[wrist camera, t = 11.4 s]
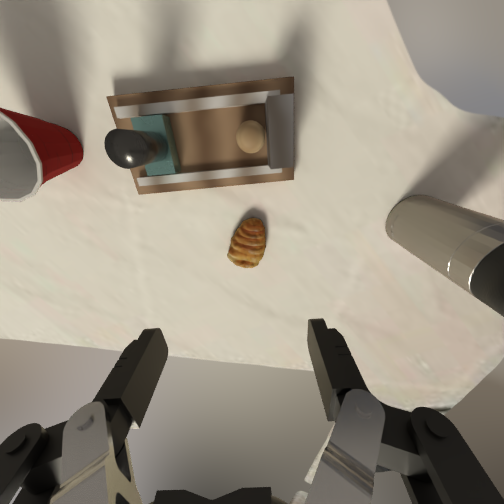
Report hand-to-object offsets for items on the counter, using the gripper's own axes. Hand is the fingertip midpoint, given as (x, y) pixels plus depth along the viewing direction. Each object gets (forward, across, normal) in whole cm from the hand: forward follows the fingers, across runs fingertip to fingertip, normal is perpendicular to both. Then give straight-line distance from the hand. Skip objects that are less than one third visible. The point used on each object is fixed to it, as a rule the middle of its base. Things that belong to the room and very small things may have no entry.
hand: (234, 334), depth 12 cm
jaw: (+26, +11, -10) cm, 30 cm away
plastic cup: (+29, +27, -11) cm, 41 cm away
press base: (+29, +5, -10) cm, 31 cm away
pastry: (+30, +1, +8) cm, 31 cm away
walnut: (+25, -2, -10) cm, 27 cm away
